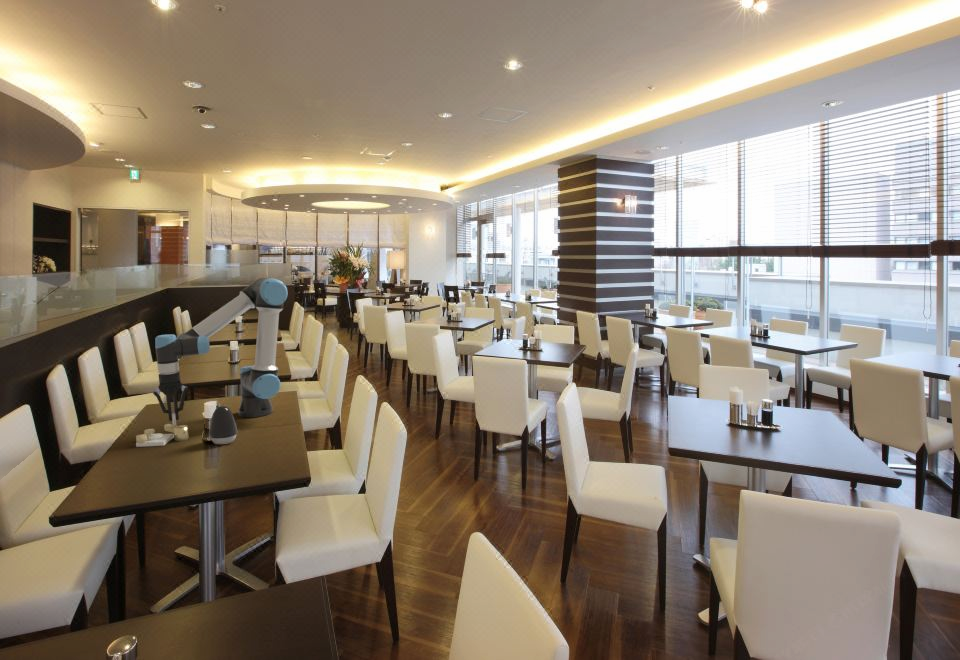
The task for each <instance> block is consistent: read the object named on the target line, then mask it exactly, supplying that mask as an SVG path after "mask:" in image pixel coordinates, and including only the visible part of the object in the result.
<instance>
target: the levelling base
mask: <svg viewBox="0 0 960 660" xmlns="http://www.w3.org/2000/svg"><path fill="white" fill-rule="evenodd" d="M155 430H156V429H155V428H148V429H147V428H146V429H144V430H143V434H137V435H136V436H135V439H136V443H135V446H136V448H139V447H142V448H143V447H158V446H165V445H167V444H168V443H169V442H170V441H172V439H175V438H174V433H159V432H157V433H156V431H155Z"/></svg>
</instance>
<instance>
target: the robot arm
mask: <svg viewBox="0 0 960 660" xmlns="http://www.w3.org/2000/svg"><path fill="white" fill-rule="evenodd" d="M288 292H289V291H288V287H287V286H286V284H285V283H284V282H283V281H281V280H279V279H278V278H274V277H273V278H271V277H270V278H269V277H260V278H258V279H256V280H254V281H253V282H251V283H250V284H249V285H248V286H246V287H245V288H243V289H242V290H241V291H239V295H237V296H236V297H235V298H233V299H232V300H230V301H228V302H227V303H225V304H224V305H223V306H221V307H220V308H219V309H217V310H216V311H214V312H213V313H212V314H210V315H209V316H207V317H206V318H205V319H203V320H201V321H200V322H199V323H197V324H196V325H193V327H191V328H190V329H188V330H187V331H186V332H182V333H180V334H179V335H175V334H172V333H171V334H161V335H157V336H155V339H154V340H155V341H154V342H155V343H154V344H155V347H154V348H155V356H156V363H157V372H158V373H159V374H158V382H159V385H158V388H157V389H155V390H153V391H152V394H153V395H154V396H155V398H157V401H158V403H159V405H160V408H161V410H162V413H163V414H167V415H168V416H167V417H168V421H169V422H172V425H176V426H177V421H179V419H180V418H179V417H180V416H179V412H181V411H183V410H184V407H185V400H186V394H187V393H188V390H189V387H188V386H186V385H183V384H182V382H181V374H180V372H179V371H180V364H179V358H180V357H188V356H198V355H204V354H209V353H210V345H211V344H210V340H209V339H210V337H212V336H213V335H214V334H215V335H216V333H217V332H219V331H221V330H222V329H223V328H225V327H226V326H228V325H229V324H230V323H232V322H233V321H235V320H236V319H237V318H238V317H240V316H241V315H242V314H244V313H246V312H247V311H249V310H250V309H255V308H256V310H257V311H258V318H257V319H258V320H257V330H256V331H257V333H256V346H255V357H254V358H255V359H254V363H253V365H248V366H242V367H241V368H240V370H239V376H240V393H241V400H240V403H239V407H238V416H239V417H242V418H258V417H264V416H268V415H270V414H272V413H273V410H274V408H273V405H272V402H271V400H270V399H272V398H273V397H275V396H276V395H277V394H278V393H279V391H280V389H281V380H280V379H279V368H278V366H276V358H277V348H278V347H277V345H278V335H279V319H280V312H282V311H283V310H284V303H285V302H286V300H287V298H288V295H289V294H288ZM180 390H181V395H180V401H179V403H178V393H179V392H180ZM161 393H163V394H164V395H165V397H166V399H165V400H166V407H167V408H166V407H165V404H164V401H163V400H162V397H161V395H160V394H161ZM171 396H172V399H173V408H174V409H173V410H174V411H172V403H171ZM178 404H179V405H178Z"/></svg>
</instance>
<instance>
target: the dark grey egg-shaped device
mask: <svg viewBox="0 0 960 660" xmlns="http://www.w3.org/2000/svg"><path fill="white" fill-rule="evenodd" d="M215 407H216V408H215V409H214V411H213V412H212V413H213V414H212V416H211V420H210V424H209V430H208V432H209V433H208V435H209V438H210V441H211V442H213V444H215V445H229V444H231V443H232V442H234V441H235V439H236V437H237V434H238V428H237V427H238V426H237V423H236V420H235V417H234V415H233V412H232V411H231V409H230V408H229V407H227V406H226V405H220V406H219V405H216V406H215Z"/></svg>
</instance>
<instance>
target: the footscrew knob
mask: <svg viewBox="0 0 960 660" xmlns="http://www.w3.org/2000/svg"><path fill="white" fill-rule="evenodd" d="M163 428H164V431H165V432H170V433H172V434H174V438H173V439H174V441H175V442H183V441H186V440H189V439H190V438H189V427H188V425H186V424H182V425H177V424H176V425H173V424H171V423H166V424H164V427H163Z"/></svg>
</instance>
